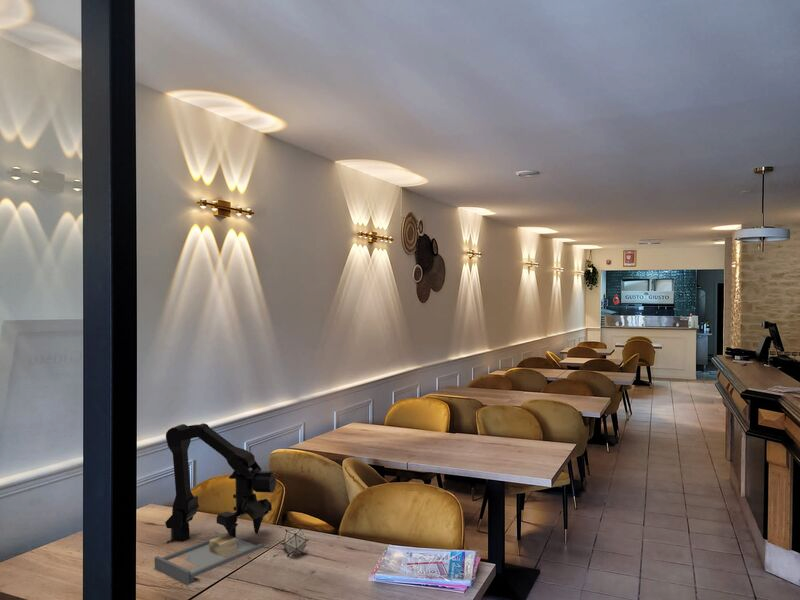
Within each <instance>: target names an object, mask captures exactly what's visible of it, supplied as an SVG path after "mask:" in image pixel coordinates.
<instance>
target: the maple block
mask: <svg viewBox="0 0 800 600" xmlns="http://www.w3.org/2000/svg"><path fill="white" fill-rule="evenodd" d="M221 535H222V536H220V535H219V536H220V537H218V536H216V537H217V538H215V537H213V538H214V539H212V538H211V539H212V540H210V539H208V540H209V548H210V552H212V553H215V554H217V555H220V556H222V555H224V554H226V553H229V552H231V551H234V550H236V549H237V544H236V538H237V537H236V538H234V537H231V536H228V535H223V534H221Z"/></svg>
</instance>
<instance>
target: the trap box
mask: <svg viewBox="0 0 800 600" xmlns="http://www.w3.org/2000/svg"><path fill="white" fill-rule="evenodd" d="M222 535H228V536H229V534H228V532H226V533H223V534H221V535H218V536H215V537H212V538H210V539H207V540H204V541H202V542H200V543H197V544H193V545H191V546H189V547H187V548H183V549H181V550H178V551H175V552H174V553H170V554H168V555H165V556H163V557H161V556H158V555H157V556H154V569H155V570H156V571H160V572H161V573H163V574H166V575H167V576H169V577H172V578H174V579H175V580H177V581H179V582H182V583H183V584H186V585H190V584H192V583H194V582H197V581H199V580H200V579H199V578H198V577H197V576H199V575H202V574H204V573H207V572H209V571H211V570H214V569H216V568H217V567H220V566H223V565H226V564H229V562H231V561H235V560H236V559H239V558H241V557H243V556H247V555H248V554H251V553H254V552H255V551H259V550H261V549H263V548H264V543H259V544H254V543H251V542H249V541H245V540H244V539H243V540H242V539H240V538H237V537H236V544H237V549H236V550H234V551H231V552H229V553H226V554H224V555H222V556H220V555H217V554H215V553H212V552H210V548H209V540H212V539H214V538H217V537H220V536H222ZM237 551H238V552H237ZM234 552H237V553H234ZM232 553H234V554H232ZM230 554H232V555H230ZM182 555H184V556H186V557H187V558H185V559H184V560H185V561H186V562H188V563H191V564H193V565H196V567H193V568H191V569H187V568H185V567H183V566H180V565H178V564H176V563H174V562H171V561H170V560H172V559H174V558H177V557H180V556H182ZM227 555H229V556H228V557H226V558H225V557H224V556H227Z"/></svg>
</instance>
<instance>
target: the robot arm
mask: <svg viewBox="0 0 800 600" xmlns="http://www.w3.org/2000/svg"><path fill="white" fill-rule="evenodd" d="M165 432H166V433H165V440H166V445H167V447H168V449H169V450H170V451H171V454H172V461H173V463H172V464H173V472H174V473H173V475H174V486H175V498H174V501H173V503H172V512H171V515H170V517H169V518H168V519H167V520H166V521H165V522H164V524H165V526H166V529H170V539H169V540H167V541H166V543H167V544H171V543H174V542H182V543H183V542H186V541H189V540H190V539H191V536H190V524H189V522H190V521H192V520H193V518H194V516H196V514H197V512H198V509H199V508H200V506H199V495H196V496H195V495H194V494H193V493H192V489H191V479H190V478H191V476H190V467H189V465H190V464H189V453H188V452H189V447H190V444H191V441H192V440H191V439H194V438H197V439H198V438H199V439H200V440H201V441H203V443H205V444H206V445H208V446H209V447H210V448H212V449H213V450H214V451H216V452H217V453H218V454H219V455H221V456H222V457H223V458H224V459H225V460H226V462H227V464H228V465H229V466H230V467H231V469H232V470H233V472H232V473H231V474H230V476H228V479H229V480H233V479H234V480H235V483H234V484H235V494H233V497H232V498H233V499H235V506H233V511H235V512H230V511H224V512H221V513H218V515H217V516H216V524H218V525H220V526H223V527H224V528H225V530H226V533H228V534H229V536H231V537H234V538H237V529H236V528H237V527H238V525H239V523H237V522H238V519H239V518H242V517H245V516H247V515H248V516H249V517H250V518H251V519H252V522H253V524H252V526H253V531H254V533H255V534H256V535H257V534H259V532H260V528H261V525H262V521H263V520H264V517H265V516H266V515H268V514H269V513H270V511H272V509H273V506H272V505H273V504H272V503H271V501H269V500H268V499H267V498H264V499H263V498H262V499H259V500H258V499H257V493H271V494H272V493H274V492H275V490H276V488H277V487H276V486H277V479H276V476H275V474H274V470H267V471H265V470H264V471H262V468H261V466H260V465H259V463H257V460H255V459H256V458H255V455H254V454H253V453H252V452H250V451H248V450H246V449H244V448H241V447H237V446H235V445H234V444H232V443H231V442H230V441H228V440H227V439H226V438H224V437H223V436H221V435H220V434H219V433H217V432H216V430H213V428H211V427H210V426H209V424H207V423H205V422H203V423H200V424H191V425H187V424H184V423H182V424H178V425H176V426H173V427H171V428H169V429H168V430H167V431H165ZM250 469H251V470H250ZM254 491H255V493H254Z"/></svg>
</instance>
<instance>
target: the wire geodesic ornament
mask: <svg viewBox="0 0 800 600" xmlns="http://www.w3.org/2000/svg"><path fill="white" fill-rule="evenodd" d="M302 528H303V527H302V526H300V528H299V529H293V530H288V529H287V528H285V532H286V533H285V536H284V538H283V541H282V542H281V543H280V545H281V546H283V547H284V549H285V551H286V552H287V553H288V554H287V555H286V557H287V558H289V556H290V555H297V554H302V555H304V554H305V553H304V550H305V546H306V543H307V542H308V541H309V539H307V538H306V536H305V535H304V533H303V531H302Z"/></svg>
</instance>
